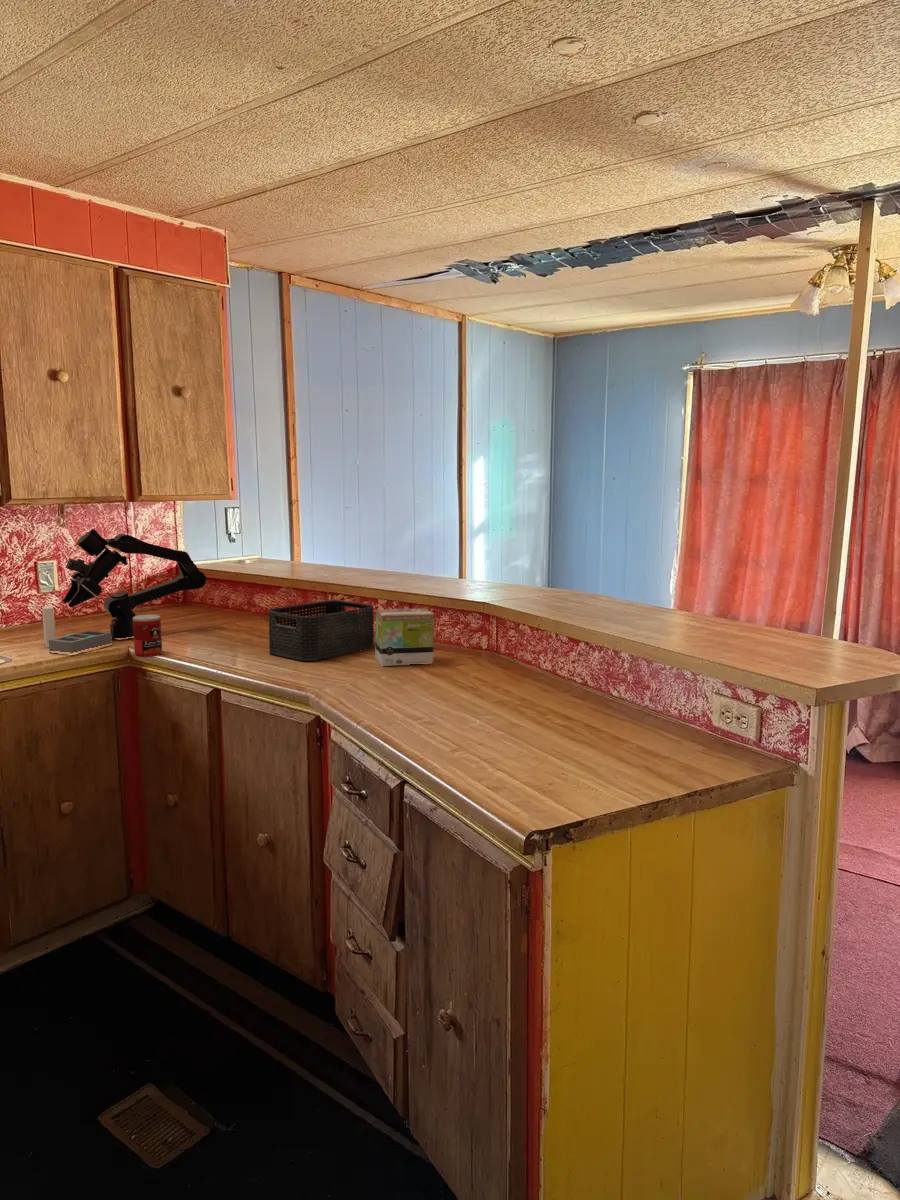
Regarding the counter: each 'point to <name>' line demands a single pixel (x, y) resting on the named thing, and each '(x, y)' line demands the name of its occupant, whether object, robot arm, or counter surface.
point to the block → (48, 623)
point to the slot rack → (80, 641)
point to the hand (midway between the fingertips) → (66, 604)
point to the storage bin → (320, 630)
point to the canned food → (147, 635)
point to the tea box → (404, 636)
